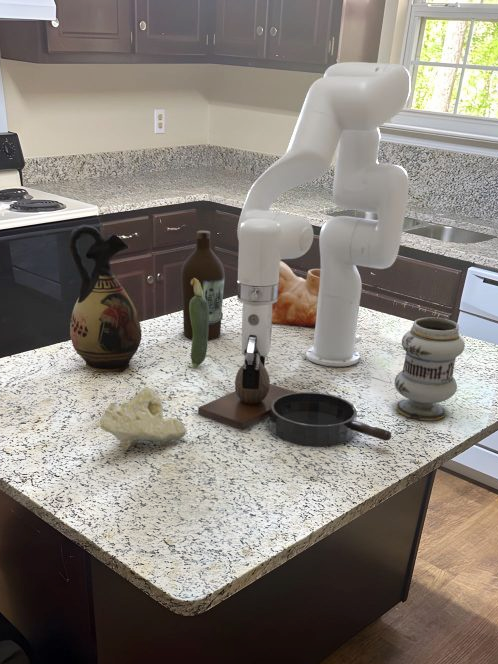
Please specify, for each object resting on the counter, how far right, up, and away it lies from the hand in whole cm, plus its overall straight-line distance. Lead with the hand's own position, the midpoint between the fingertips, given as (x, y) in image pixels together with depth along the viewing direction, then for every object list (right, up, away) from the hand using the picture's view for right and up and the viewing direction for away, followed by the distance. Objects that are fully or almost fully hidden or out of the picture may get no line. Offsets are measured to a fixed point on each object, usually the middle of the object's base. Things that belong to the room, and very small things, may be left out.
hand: (253, 379), depth 142 cm
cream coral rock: (-21, -15, -14) cm, 29 cm away
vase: (0, -4, +2) cm, 5 cm away
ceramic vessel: (+15, +26, +56) cm, 64 cm away
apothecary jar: (+34, -6, +4) cm, 35 cm away
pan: (+11, -10, -5) cm, 16 cm away
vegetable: (-12, +6, +21) cm, 25 cm away
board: (0, -5, +3) cm, 6 cm away
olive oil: (-11, +19, +42) cm, 48 cm away
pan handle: (+20, -12, -12) cm, 27 cm away
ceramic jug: (-33, +6, +20) cm, 39 cm away
